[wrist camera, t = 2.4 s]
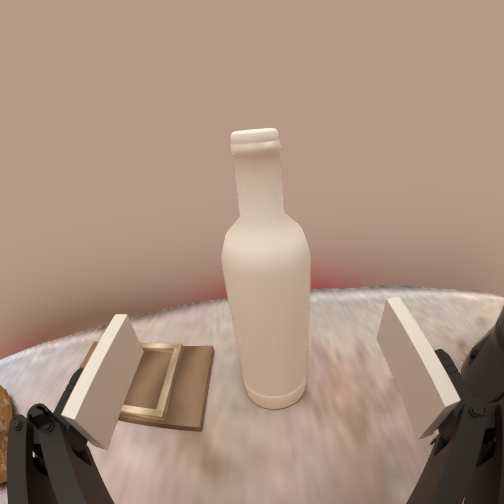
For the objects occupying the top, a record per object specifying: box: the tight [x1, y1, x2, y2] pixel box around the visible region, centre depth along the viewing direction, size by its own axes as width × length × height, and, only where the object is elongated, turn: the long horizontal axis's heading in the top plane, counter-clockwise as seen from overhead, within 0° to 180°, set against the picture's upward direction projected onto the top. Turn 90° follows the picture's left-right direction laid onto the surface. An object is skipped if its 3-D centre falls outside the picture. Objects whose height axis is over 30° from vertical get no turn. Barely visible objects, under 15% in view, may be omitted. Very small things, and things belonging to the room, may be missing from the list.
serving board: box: [80, 342, 214, 431], centre depth 33 cm, size 22×14×2 cm, turn 89°
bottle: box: [221, 128, 311, 409], centre depth 26 cm, size 8×8×30 cm
